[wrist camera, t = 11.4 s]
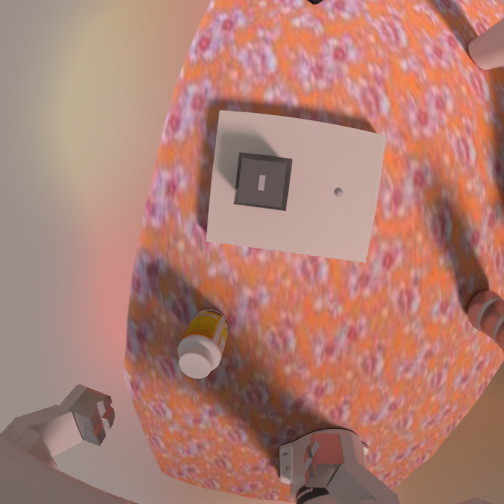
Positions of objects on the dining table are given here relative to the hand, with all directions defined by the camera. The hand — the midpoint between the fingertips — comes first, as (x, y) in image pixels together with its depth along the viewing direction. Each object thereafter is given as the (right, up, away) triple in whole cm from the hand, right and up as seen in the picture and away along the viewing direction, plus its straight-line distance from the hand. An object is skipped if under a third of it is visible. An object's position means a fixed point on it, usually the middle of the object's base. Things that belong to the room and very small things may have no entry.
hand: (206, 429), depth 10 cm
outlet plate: (+7, +15, +26) cm, 31 cm away
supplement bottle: (-4, -4, +33) cm, 33 cm away
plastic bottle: (+39, -2, +29) cm, 49 cm away
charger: (+3, +16, +26) cm, 31 cm away
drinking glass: (+37, +37, +18) cm, 55 cm away
